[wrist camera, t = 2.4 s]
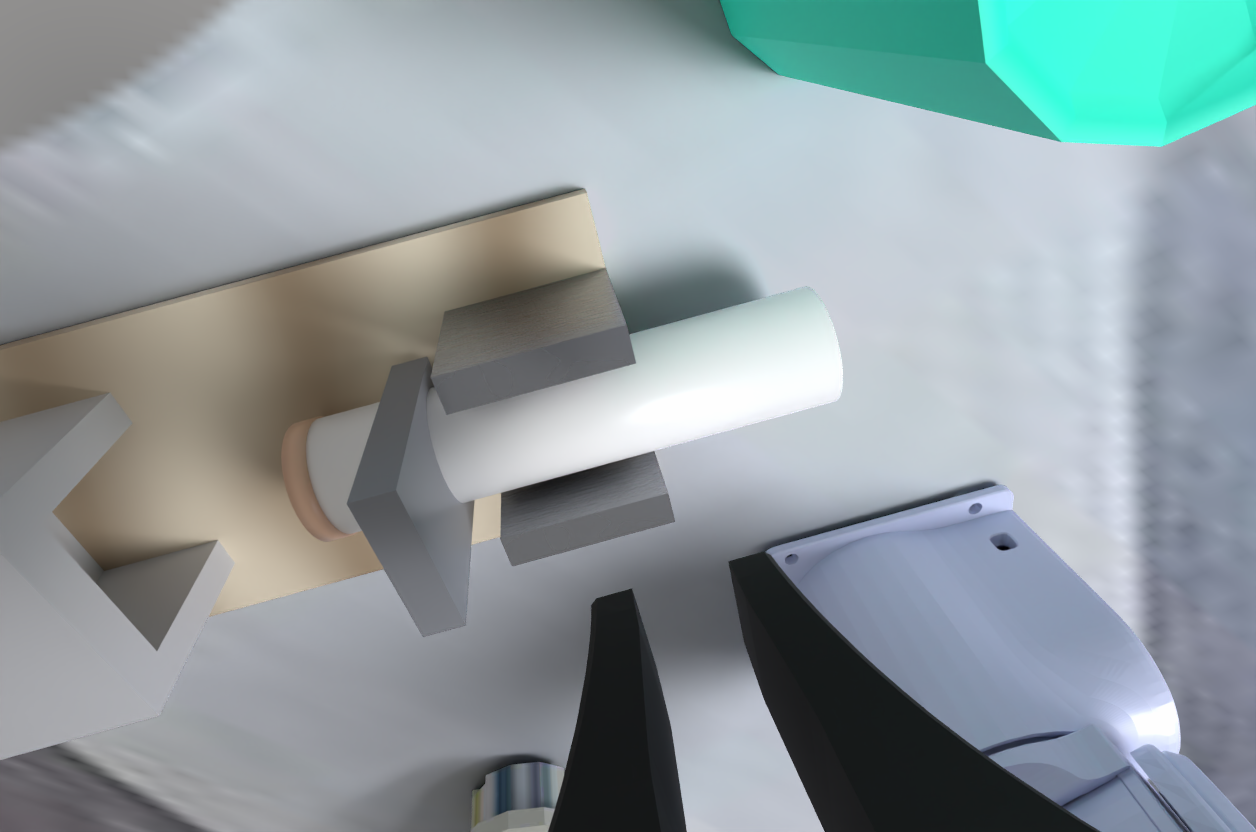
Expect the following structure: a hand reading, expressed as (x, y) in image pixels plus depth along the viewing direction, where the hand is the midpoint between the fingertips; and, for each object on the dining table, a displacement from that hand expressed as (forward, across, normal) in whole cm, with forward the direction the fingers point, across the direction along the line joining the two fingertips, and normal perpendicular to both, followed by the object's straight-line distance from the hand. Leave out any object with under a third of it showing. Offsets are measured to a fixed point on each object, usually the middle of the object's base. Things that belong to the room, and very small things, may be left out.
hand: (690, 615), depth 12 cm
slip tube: (+10, +2, 0) cm, 10 cm away
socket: (+10, +15, 0) cm, 19 cm away
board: (+10, +8, 0) cm, 13 cm away
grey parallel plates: (+10, +2, 0) cm, 11 cm away
